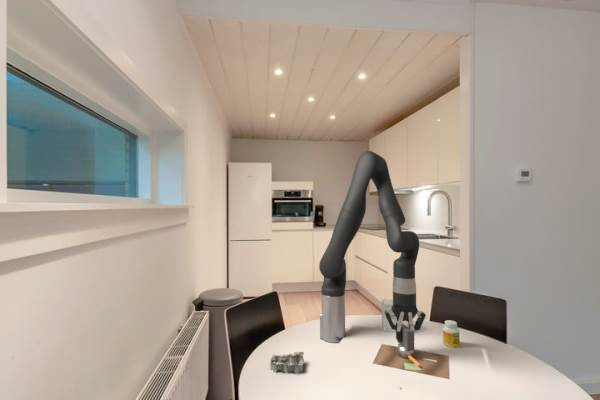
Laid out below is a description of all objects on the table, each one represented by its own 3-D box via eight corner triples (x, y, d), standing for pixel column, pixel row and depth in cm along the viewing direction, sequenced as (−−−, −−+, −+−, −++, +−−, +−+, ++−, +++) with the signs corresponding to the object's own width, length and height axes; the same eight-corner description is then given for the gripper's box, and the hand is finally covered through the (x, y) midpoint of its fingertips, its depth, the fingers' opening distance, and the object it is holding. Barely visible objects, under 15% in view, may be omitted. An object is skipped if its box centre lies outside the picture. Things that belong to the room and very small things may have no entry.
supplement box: (384, 335, 124) (383, 303, 124) (381, 328, 131) (381, 298, 132) (403, 336, 123) (402, 304, 123) (399, 329, 130) (399, 299, 131)
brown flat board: (372, 368, 97) (372, 363, 98) (381, 348, 112) (381, 343, 112) (449, 384, 88) (449, 378, 88) (448, 360, 102) (448, 355, 103)
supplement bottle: (448, 344, 115) (448, 318, 115) (462, 349, 110) (462, 322, 111) (440, 347, 112) (439, 321, 112) (454, 353, 107) (453, 325, 108)
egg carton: (305, 364, 101) (305, 351, 101) (301, 375, 94) (301, 362, 94) (273, 361, 103) (273, 348, 103) (267, 372, 95) (268, 359, 95)
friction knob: (394, 350, 106) (393, 324, 106) (407, 349, 107) (407, 323, 107) (411, 368, 94) (411, 338, 94) (426, 366, 95) (426, 337, 95)
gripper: (422, 287, 107) (423, 338, 106) (381, 287, 108) (381, 336, 108) (429, 293, 100) (430, 347, 99) (385, 292, 101) (385, 346, 100)
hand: (404, 341), depth 103 cm, fingers closed on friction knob, 3 cm apart
